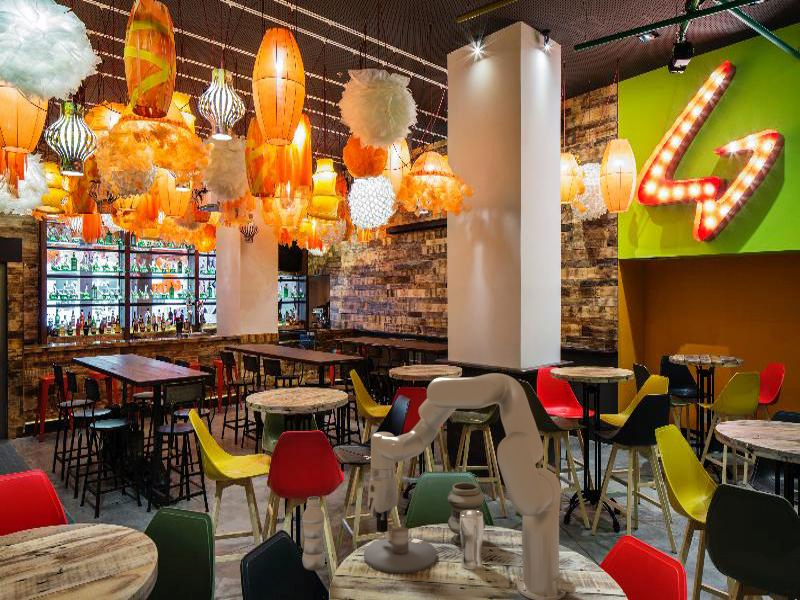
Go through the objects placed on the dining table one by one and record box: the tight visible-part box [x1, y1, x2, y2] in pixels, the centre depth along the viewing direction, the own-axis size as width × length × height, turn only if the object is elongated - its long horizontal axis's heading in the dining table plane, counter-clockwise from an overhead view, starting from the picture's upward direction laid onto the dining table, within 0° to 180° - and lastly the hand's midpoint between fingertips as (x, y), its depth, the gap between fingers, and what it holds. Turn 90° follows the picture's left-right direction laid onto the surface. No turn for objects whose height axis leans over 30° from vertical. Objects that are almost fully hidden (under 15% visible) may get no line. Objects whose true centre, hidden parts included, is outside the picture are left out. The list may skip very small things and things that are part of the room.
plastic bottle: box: [301, 496, 326, 571], centre depth 163 cm, size 6×7×20 cm
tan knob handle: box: [385, 518, 409, 554], centre depth 174 cm, size 12×5×6 cm, turn 22°
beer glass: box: [460, 510, 485, 571], centre depth 164 cm, size 7×7×15 cm
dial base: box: [363, 537, 438, 574], centre depth 170 cm, size 22×22×2 cm
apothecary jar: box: [447, 481, 486, 548], centre depth 182 cm, size 12×12×18 cm
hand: (382, 531), depth 177 cm, fingers closed
